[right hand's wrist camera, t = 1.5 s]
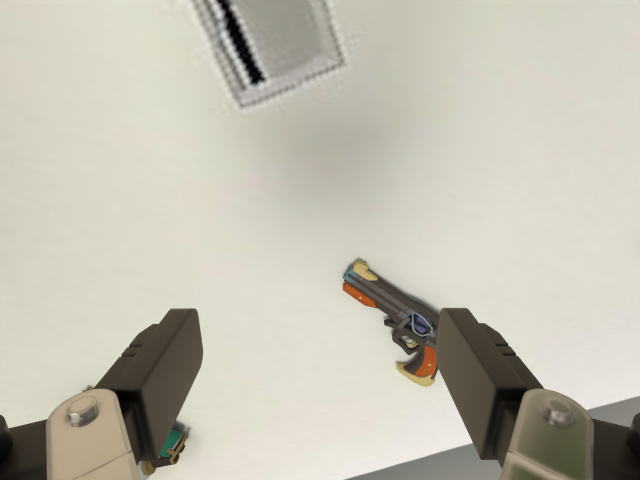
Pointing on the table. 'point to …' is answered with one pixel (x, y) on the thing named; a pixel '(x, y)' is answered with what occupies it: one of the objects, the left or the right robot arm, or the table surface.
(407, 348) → the toy gun
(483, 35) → the table surface
